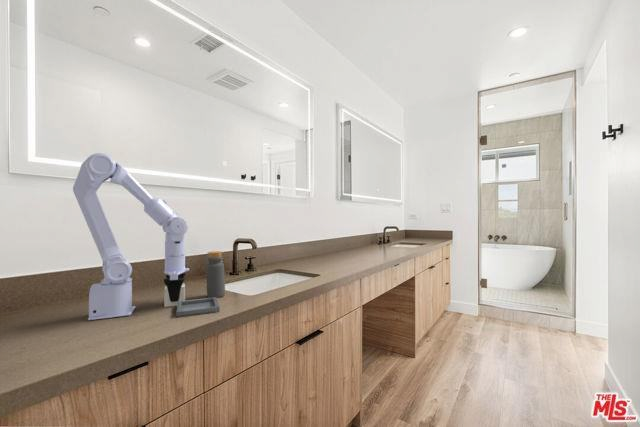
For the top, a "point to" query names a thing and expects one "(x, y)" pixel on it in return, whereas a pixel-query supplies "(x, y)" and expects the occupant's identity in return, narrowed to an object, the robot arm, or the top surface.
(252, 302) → the top surface
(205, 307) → the slate tray
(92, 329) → the top surface
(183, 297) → the ceramic cube
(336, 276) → the top surface
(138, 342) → the top surface
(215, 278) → the bottle
